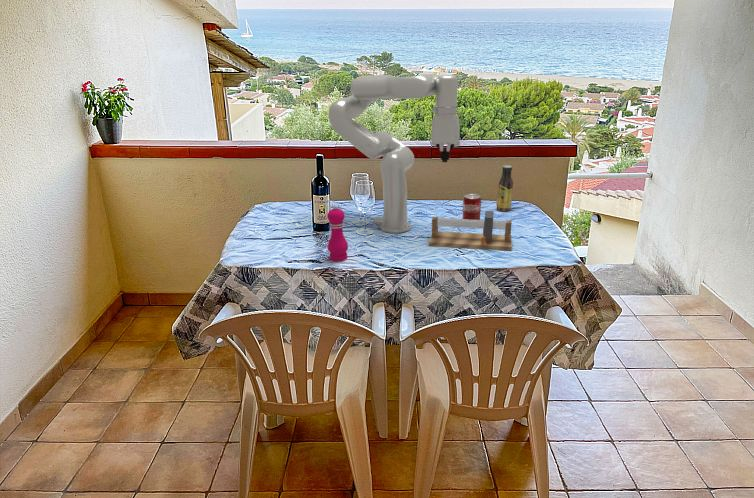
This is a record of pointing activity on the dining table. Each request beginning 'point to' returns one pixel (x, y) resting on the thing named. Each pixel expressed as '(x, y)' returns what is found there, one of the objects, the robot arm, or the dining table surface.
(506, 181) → the sauce bottle
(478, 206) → the soda can
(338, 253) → the pepper mill
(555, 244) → the dining table surface
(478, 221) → the white long bar
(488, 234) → the collar
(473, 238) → the pipe stand
